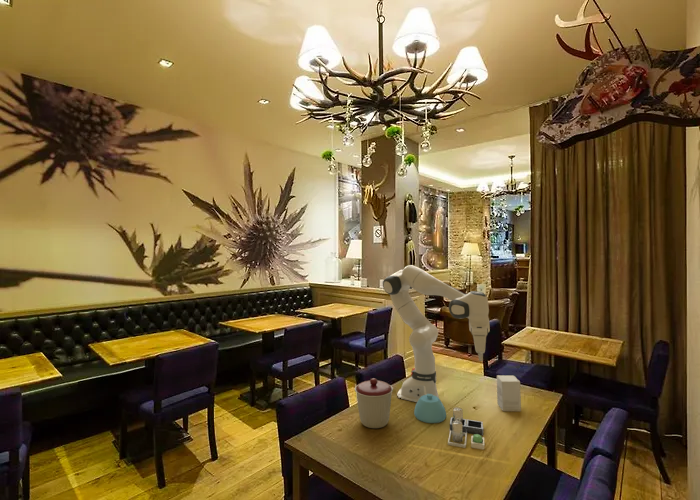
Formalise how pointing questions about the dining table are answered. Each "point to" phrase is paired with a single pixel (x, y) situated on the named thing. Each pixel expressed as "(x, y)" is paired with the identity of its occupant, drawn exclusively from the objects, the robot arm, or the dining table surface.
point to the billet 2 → (457, 431)
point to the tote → (457, 443)
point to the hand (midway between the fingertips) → (480, 357)
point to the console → (477, 444)
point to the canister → (374, 402)
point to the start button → (477, 438)
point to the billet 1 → (458, 414)
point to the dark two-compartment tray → (470, 426)
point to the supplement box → (508, 393)
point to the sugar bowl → (430, 409)
